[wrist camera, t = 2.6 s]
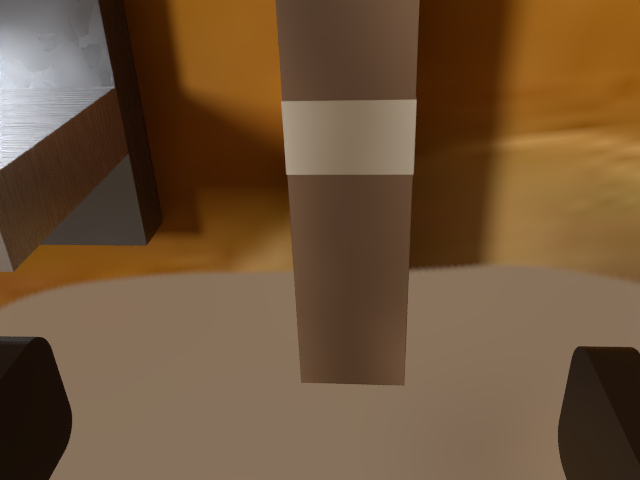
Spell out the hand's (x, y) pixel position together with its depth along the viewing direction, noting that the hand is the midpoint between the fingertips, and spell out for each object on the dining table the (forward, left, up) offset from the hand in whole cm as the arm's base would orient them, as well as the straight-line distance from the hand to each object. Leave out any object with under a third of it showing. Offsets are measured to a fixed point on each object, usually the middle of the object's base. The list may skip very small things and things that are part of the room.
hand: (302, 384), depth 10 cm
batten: (0, 0, -15) cm, 15 cm away
